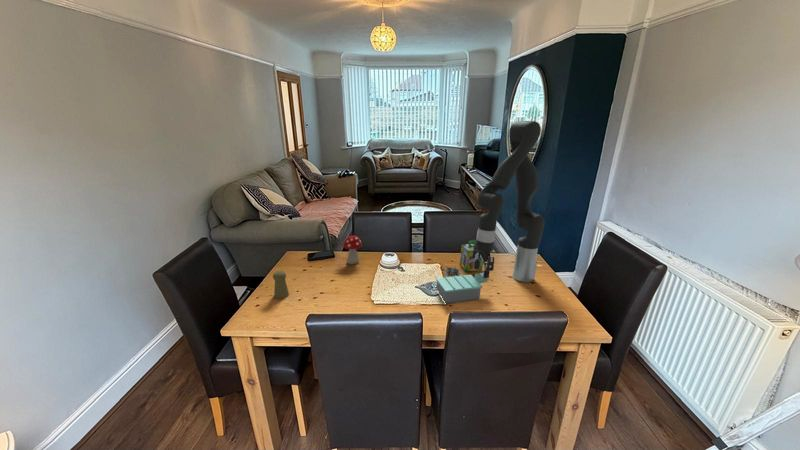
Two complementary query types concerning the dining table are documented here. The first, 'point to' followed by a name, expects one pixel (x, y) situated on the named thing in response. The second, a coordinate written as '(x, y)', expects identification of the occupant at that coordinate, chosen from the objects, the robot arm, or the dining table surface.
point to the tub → (459, 295)
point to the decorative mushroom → (352, 249)
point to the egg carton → (452, 271)
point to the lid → (461, 282)
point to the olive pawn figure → (280, 285)
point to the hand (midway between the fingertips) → (481, 273)
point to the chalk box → (468, 257)
